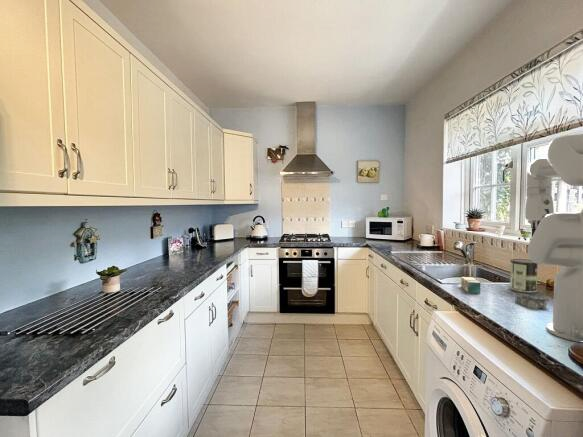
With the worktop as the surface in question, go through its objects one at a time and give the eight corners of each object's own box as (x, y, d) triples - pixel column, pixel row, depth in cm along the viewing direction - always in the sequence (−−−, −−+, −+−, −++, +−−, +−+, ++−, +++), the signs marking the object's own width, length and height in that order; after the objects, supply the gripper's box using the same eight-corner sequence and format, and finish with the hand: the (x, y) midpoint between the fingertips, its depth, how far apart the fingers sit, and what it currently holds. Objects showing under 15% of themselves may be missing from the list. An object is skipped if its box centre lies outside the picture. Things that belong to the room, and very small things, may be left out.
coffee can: (534, 288, 140) (535, 259, 140) (539, 294, 132) (540, 263, 131) (508, 285, 146) (509, 257, 145) (510, 290, 137) (511, 261, 136)
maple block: (480, 282, 134) (472, 277, 143) (468, 282, 135) (461, 276, 144) (480, 293, 134) (472, 287, 144) (468, 292, 135) (461, 286, 145)
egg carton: (550, 309, 113) (550, 299, 113) (530, 309, 114) (530, 299, 114) (529, 300, 124) (529, 291, 124) (511, 300, 124) (511, 291, 124)
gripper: (563, 191, 106) (562, 240, 107) (537, 193, 121) (536, 236, 121) (540, 191, 107) (538, 240, 108) (516, 193, 122) (516, 236, 123)
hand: (537, 238), depth 115 cm, fingers closed
